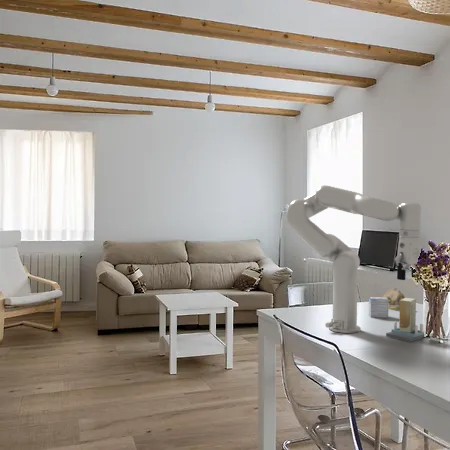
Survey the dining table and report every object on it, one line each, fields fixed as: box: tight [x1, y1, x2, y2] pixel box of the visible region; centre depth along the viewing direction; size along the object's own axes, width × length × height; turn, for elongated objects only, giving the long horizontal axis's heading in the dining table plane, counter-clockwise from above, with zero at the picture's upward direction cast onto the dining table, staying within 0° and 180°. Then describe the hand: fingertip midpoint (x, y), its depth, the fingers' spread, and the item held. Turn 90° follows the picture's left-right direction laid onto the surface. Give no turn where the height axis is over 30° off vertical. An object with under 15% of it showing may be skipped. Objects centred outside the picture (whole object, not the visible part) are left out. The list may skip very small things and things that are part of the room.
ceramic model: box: [382, 287, 406, 312], centre depth 238 cm, size 14×11×10 cm
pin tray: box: [385, 319, 424, 343], centre depth 184 cm, size 14×10×5 cm
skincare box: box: [398, 297, 417, 333], centre depth 184 cm, size 6×4×12 cm
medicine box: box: [368, 296, 389, 319], centre depth 218 cm, size 8×4×9 cm, turn 84°
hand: (408, 278), depth 184 cm, fingers open, 9 cm apart
